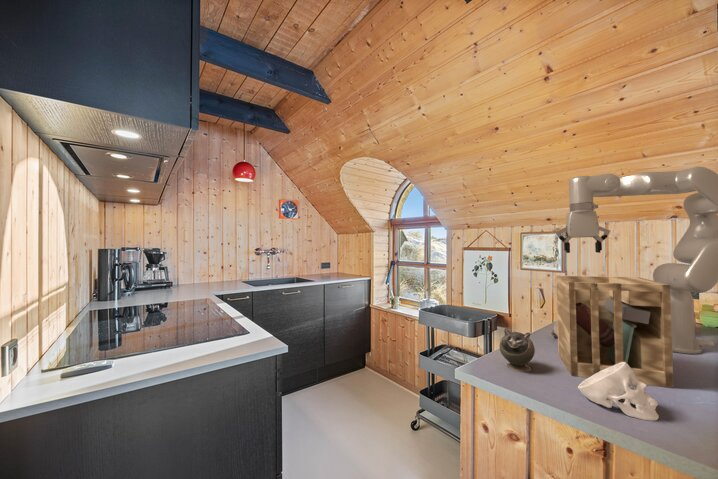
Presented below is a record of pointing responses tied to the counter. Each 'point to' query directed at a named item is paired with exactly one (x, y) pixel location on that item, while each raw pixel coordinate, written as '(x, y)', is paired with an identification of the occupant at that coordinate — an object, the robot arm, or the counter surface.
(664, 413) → the counter surface
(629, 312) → the green chalkboard
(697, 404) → the counter surface
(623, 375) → the skull bowl
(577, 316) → the can
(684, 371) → the counter surface
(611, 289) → the zigzag grain wooden box
